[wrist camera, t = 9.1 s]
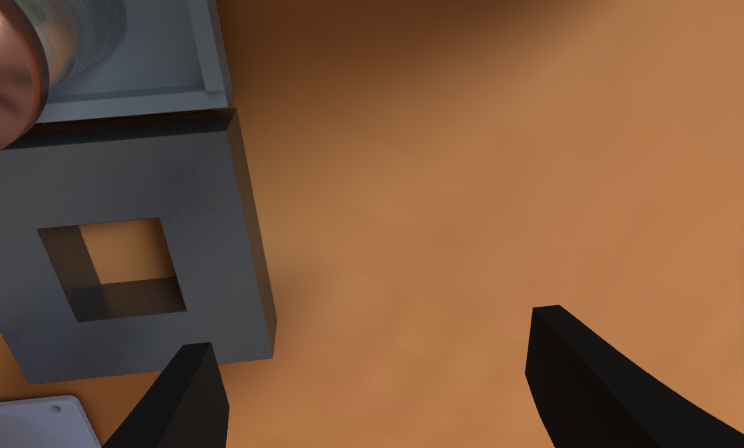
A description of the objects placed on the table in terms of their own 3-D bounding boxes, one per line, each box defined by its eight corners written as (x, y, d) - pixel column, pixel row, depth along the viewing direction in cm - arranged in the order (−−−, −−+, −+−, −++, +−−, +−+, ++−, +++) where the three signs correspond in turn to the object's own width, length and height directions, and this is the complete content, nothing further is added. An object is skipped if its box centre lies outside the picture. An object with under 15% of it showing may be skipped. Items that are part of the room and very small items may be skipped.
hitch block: (55, 342, 23) (29, 384, 21) (-45, 132, 19) (-93, 158, 16) (276, 319, 24) (273, 358, 22) (236, 108, 19) (226, 131, 17)
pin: (34, 78, 17) (-142, 169, 11) (-14, -58, 15) (-267, -51, 9) (156, 70, 18) (60, 155, 11) (124, -63, 16) (-17, -61, 9)
